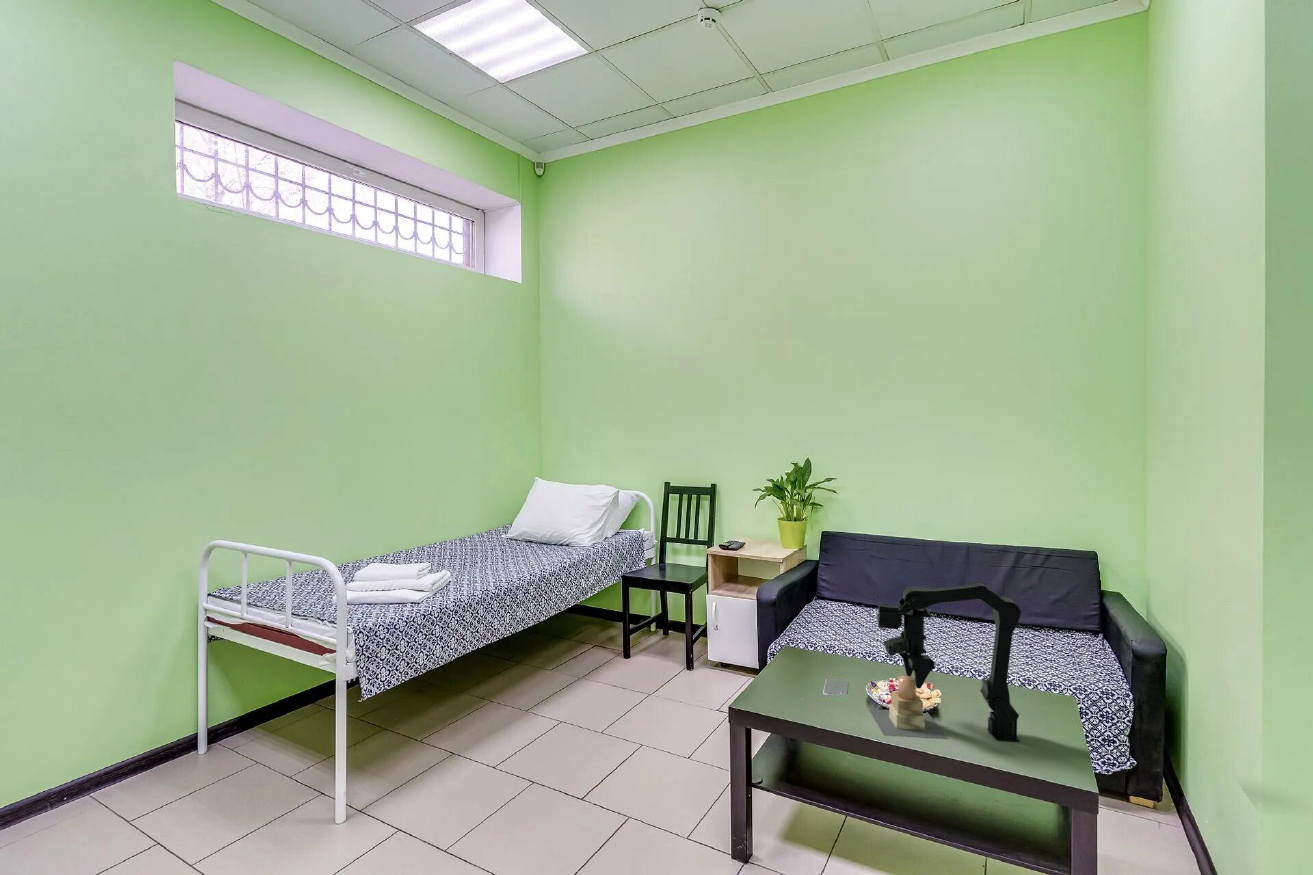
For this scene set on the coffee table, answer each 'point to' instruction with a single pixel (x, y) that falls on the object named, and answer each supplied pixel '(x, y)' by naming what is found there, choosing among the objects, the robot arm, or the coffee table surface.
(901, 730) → the rubber mat
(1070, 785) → the coffee table surface
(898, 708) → the top block
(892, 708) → the base block
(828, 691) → the mobile phone
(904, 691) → the terracotta cylinder
